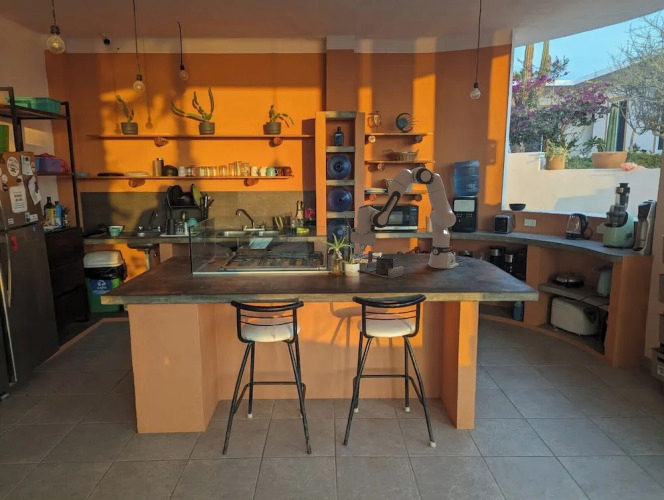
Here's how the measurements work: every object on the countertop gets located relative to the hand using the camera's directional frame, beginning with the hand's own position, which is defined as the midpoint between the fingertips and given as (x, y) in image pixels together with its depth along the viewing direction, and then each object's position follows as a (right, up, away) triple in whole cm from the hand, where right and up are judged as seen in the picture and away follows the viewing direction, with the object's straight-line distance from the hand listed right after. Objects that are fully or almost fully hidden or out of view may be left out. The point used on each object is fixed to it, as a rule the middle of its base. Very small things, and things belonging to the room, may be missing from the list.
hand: (362, 250), depth 295 cm
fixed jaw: (+11, -14, -9) cm, 20 cm away
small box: (+13, -15, -11) cm, 23 cm away
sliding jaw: (+5, -12, -3) cm, 14 cm away
